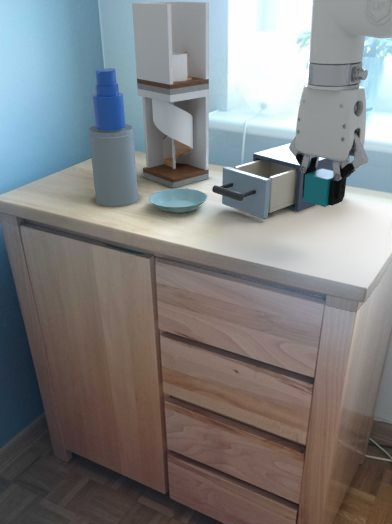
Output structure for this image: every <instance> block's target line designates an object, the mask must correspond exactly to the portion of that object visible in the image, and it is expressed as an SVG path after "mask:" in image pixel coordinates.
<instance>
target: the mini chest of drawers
mask: <svg viewBox="0 0 392 524" xmlns="http://www.w3.org/2000/svg"><path fill="white" fill-rule="evenodd" d="M290 144H291V142H290V143H285V144H282V145H279V146H276V147H272V148H269V149H264V150H260V151H257V152H254V153H252V162H253V161H257V160H260V159H261V160H265V161H269V162H273V163H277V164H280V165H284V166H288V167H292V168H295V169H298V176H297V187H296V198H295V204H292V205H290V206H287V207H284V208H283V209H287V210H290V211H294V212H296V213H298V212H301V211H303V210H306V209H308V208H311V207H313V206H316V205H315V204H312V203H308V202H304V201H303V176H304V173H302V172H301V170H300V168H301V166H300V165H299V163H298V161H297V160H296V157H295V156H294V155H293V154H292V153H291V151H290V150H289V145H290ZM341 168H342V166H341ZM319 169H326V170H331V171H333V163H332V160H331V159H326V158H321V157H319V161H318V164H317V168H316V170H319Z"/></svg>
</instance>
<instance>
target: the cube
mask: <svg viewBox="0 0 392 524" xmlns="http://www.w3.org/2000/svg"><path fill="white" fill-rule="evenodd" d="M333 179H334V175H333V171H331V170H326V169H319V170H317V171H314V172H311V173H308V174H305V184H304V198H303V201H304V202H308V203H312V204H315V205H314V206H319V207H324V208H327V207H329V206H330V205H329V204H328V200H329V190H330V182H331V180H333Z"/></svg>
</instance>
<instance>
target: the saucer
mask: <svg viewBox="0 0 392 524" xmlns="http://www.w3.org/2000/svg"><path fill="white" fill-rule="evenodd" d="M207 199H208V195H207V194H206V193H205V192H203V191H200V190H198V189H192V188H168V189H162V190H158V191H156V192H154V193H152V194H150V195H149V197H148V201H149V202H150V203H151V204H152V205H153V206H154V207H156V208H157V209H159V210H160V211H163V212H166V213H170V214H185V213H189V212H191V211H194V210H196V209H198V208H199V207H201V206H202V205H203V204H205V202H206V201H207Z"/></svg>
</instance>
